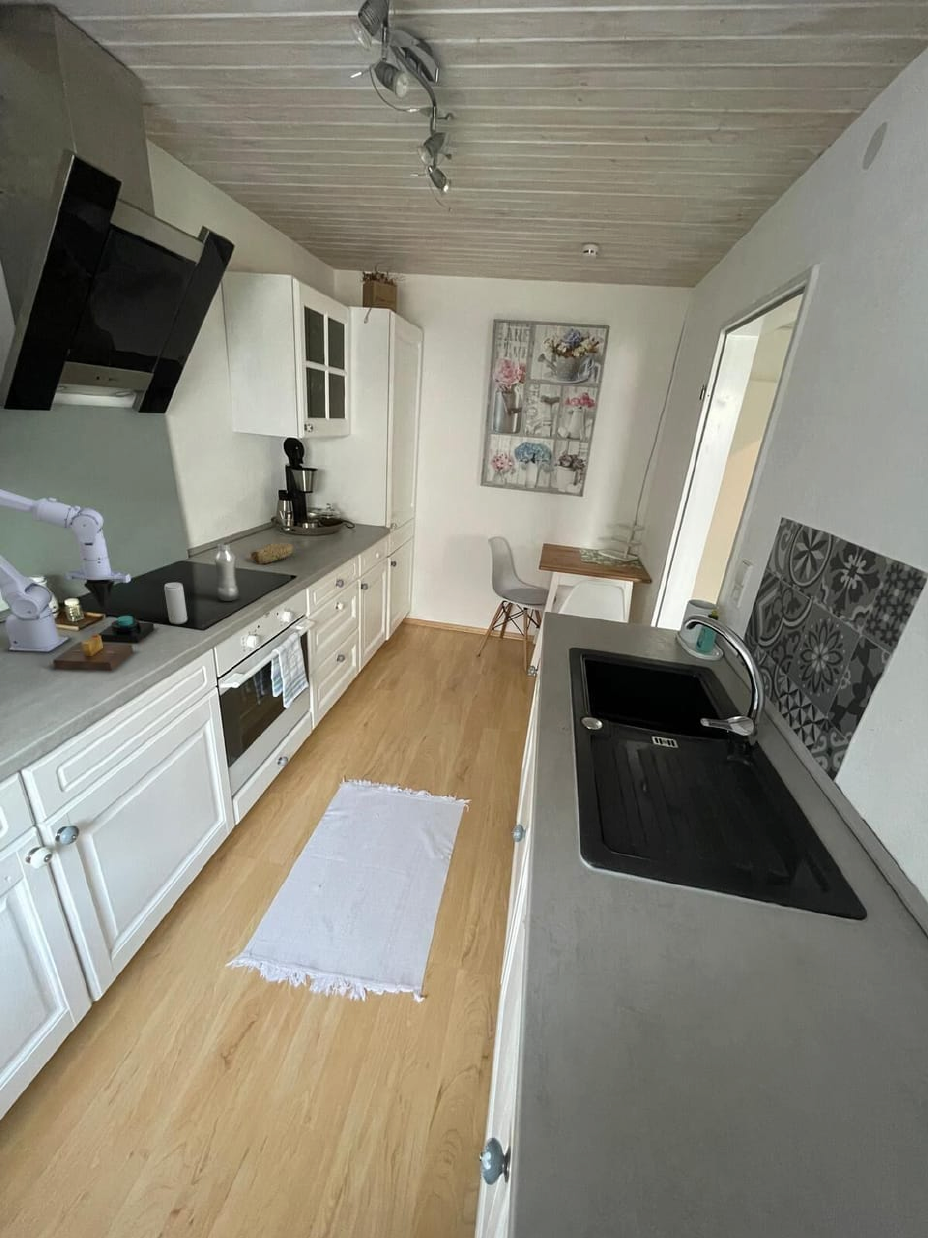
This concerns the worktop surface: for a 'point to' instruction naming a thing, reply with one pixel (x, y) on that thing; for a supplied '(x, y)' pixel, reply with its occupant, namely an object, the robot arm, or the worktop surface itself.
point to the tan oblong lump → (272, 552)
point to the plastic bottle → (226, 573)
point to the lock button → (124, 620)
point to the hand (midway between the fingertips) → (104, 605)
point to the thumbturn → (92, 645)
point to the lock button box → (127, 632)
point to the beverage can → (175, 603)
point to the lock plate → (93, 657)
